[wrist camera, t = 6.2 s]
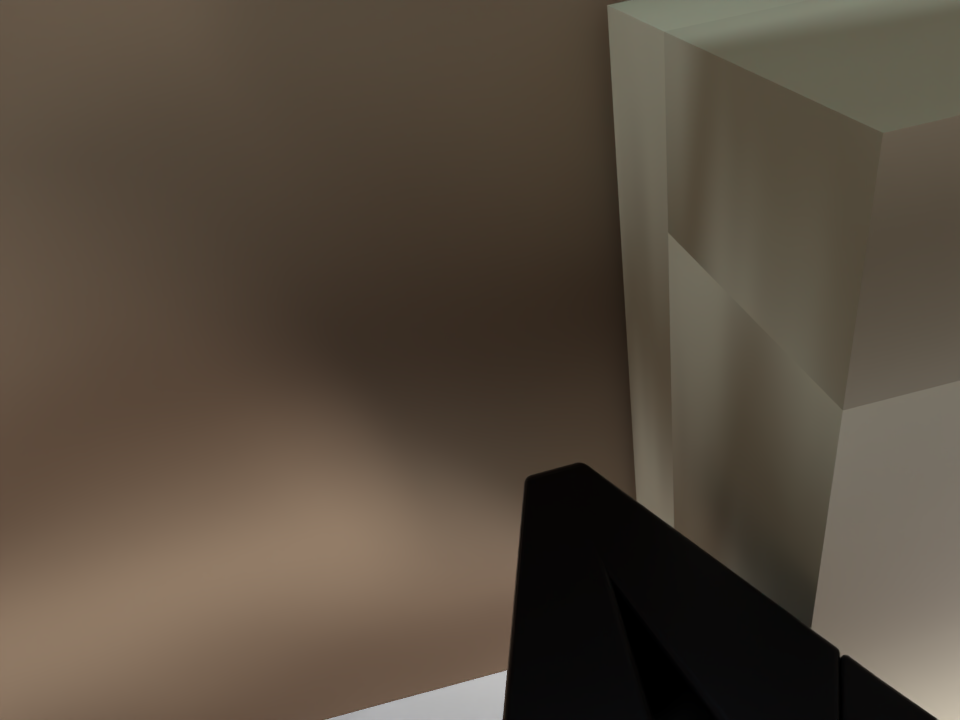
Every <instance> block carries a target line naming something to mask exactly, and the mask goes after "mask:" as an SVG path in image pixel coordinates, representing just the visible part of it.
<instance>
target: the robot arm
mask: <svg viewBox="0 0 960 720" xmlns="http://www.w3.org/2000/svg"><path fill="white" fill-rule="evenodd" d="M503 720H938V719H937V718H935V717H934V716H933V715H931V714H930V713H928V712H927V711H925V710H924V709H922V708H921V707H920V706H918V705H917V704H915V703H914V702H912V701H911V700H910V699H908V698H907V697H905V696H904V695H902V694H901V693H900V692H898V691H897V690H895V689H894V688H892V687H891V686H889V685H888V684H887V683H885V682H884V681H882V680H881V679H880V678H878V677H877V676H875V675H874V674H873V673H871V672H870V671H869V670H867V669H866V668H865V667H863V666H862V665H861V664H859V663H858V662H856V661H855V660H854V659H852V658H851V657H850V656H848V655H842V656H841V658H840V651H839V649H838V648H837V647H836V646H834V645H833V644H831V643H830V642H829V641H827V640H826V639H825V638H823V637H822V636H820V635H819V634H818V633H816V632H815V631H814V630H812V629H811V628H810V627H808V626H807V625H805V624H804V623H803V622H801V621H800V620H799V619H797V618H796V617H794V616H793V615H792V614H790V613H789V612H788V611H786V610H785V609H784V608H782V607H781V606H779V605H778V604H777V603H775V602H774V601H773V600H771V599H770V598H769V597H767V596H766V595H764V594H763V593H762V592H760V591H759V590H758V589H756V588H755V587H753V586H752V585H751V584H749V583H748V582H747V581H745V580H744V579H743V578H741V577H740V576H738V575H737V574H736V573H734V572H733V571H732V570H730V569H729V568H727V567H726V566H725V565H723V564H722V563H721V562H719V561H718V560H717V559H715V558H714V557H712V556H711V555H710V554H708V553H707V552H706V551H704V550H703V549H701V548H700V547H699V546H697V545H696V544H695V543H693V542H692V541H691V540H689V539H688V538H686V537H685V536H684V535H682V534H681V533H680V532H678V531H677V530H676V529H674V528H673V527H671V526H670V525H669V524H667V523H666V522H665V521H663V520H662V519H660V518H659V517H658V516H656V515H655V514H654V513H652V512H651V511H650V510H648V509H647V508H645V507H644V506H643V505H641V504H640V503H639V502H637V501H636V500H634V499H633V498H632V497H630V496H629V495H628V494H626V493H625V492H624V491H622V490H621V489H619V488H618V487H617V486H615V485H614V484H613V483H611V482H610V481H609V480H607V479H606V478H604V477H603V476H602V475H600V474H599V473H598V472H596V471H595V470H593V469H592V468H591V467H589V466H588V465H586V464H585V463H581V462H577V463H574V464H570V465H566V466H562V467H559V468H555V469H551V470H548V471H544V472H540V473H537V474H533V475H530V476H528V477H527V478H526V479H525V482H524V491H523V502H522V513H521V524H520V536H519V547H518V558H517V569H516V580H515V591H514V602H513V613H512V624H511V635H510V646H509V657H508V668H507V679H506V690H505V701H504V712H503Z"/></svg>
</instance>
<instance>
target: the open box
mask: <svg viewBox="0 0 960 720" xmlns="http://www.w3.org/2000/svg"><path fill="white" fill-rule="evenodd" d="M607 12H608V29H609V45H610V62H611V79H612V96H613V113H614V129H615V146H616V163H617V180H618V197H619V214H620V230H621V247H622V264H623V281H624V298H625V314H626V331H627V348H628V365H629V382H630V399H631V415H632V432H633V449H634V466H635V483H636V499H637V502H639V503H640V504H641V505H643V506H644V507H645V508H647V509H648V510H650V511H651V512H652V513H654V514H655V515H656V516H658V517H659V518H660V519H662V520H663V521H665V522H666V523H667V524H669V525H670V526H671V527H673V528H674V529H676V530H677V531H678V532H680V533H681V534H682V535H684V536H685V537H686V538H688V539H689V540H691V541H692V542H693V543H695V544H696V545H697V546H699V547H700V548H701V549H703V550H704V551H706V552H707V553H708V554H710V555H711V556H712V557H714V558H715V559H717V560H718V561H719V562H721V563H722V564H723V565H725V566H726V567H727V568H729V569H730V570H732V571H733V572H734V573H736V574H737V575H738V576H740V577H741V578H743V579H744V580H745V581H747V582H748V583H749V584H751V585H752V586H753V587H755V588H756V589H758V590H759V591H760V592H762V593H763V594H764V595H766V596H767V597H769V598H770V599H771V600H773V601H774V602H775V603H777V604H778V605H779V606H781V607H782V608H784V609H785V610H786V611H788V612H789V613H790V614H792V615H793V616H794V617H796V618H797V619H799V620H800V621H801V622H803V623H804V624H805V625H807V626H808V627H810V628H811V629H812V630H814V631H815V632H816V633H818V634H819V635H820V636H822V637H823V638H825V639H826V640H827V641H829V642H830V643H831V644H833V645H834V646H836V647H837V648H838V649H839V651H840V658H841V656H842V655H848V656H850V657H851V658H852V659H854V660H855V661H856V662H858V663H859V664H861V665H862V666H863V667H865V668H866V669H867V670H869V671H870V672H871V673H873V674H874V675H875V676H877V677H878V678H880V679H881V680H882V681H884V682H885V683H887V684H888V685H889V686H891V687H892V688H894V689H895V690H897V691H898V692H900V693H901V694H902V695H904V696H905V697H907V698H908V699H910V700H911V701H912V702H914V703H915V704H917V705H918V706H920V707H921V708H922V709H924V710H925V711H927V712H928V713H930V714H931V715H933V716H934V717H935V718H937V719H938V720H960V0H629V1H624V2H619V3H615V4H610V5H607Z"/></svg>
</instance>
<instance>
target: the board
mask: <svg viewBox="0 0 960 720" xmlns="http://www.w3.org/2000/svg"><path fill="white" fill-rule="evenodd" d="M624 1H629V0H0V720H325V719H329V718H332V717H336V716H340V715H344V714H347V713H351V712H355V711H358V710H362V709H366V708H369V707H373V706H377V705H380V704H384V703H388V702H391V701H395V700H399V699H402V698H406V697H410V696H414V695H417V694H421V693H425V692H428V691H432V690H436V689H439V688H443V687H447V686H450V685H454V684H458V683H461V682H465V681H469V680H472V679H476V678H480V677H484V676H487V675H491V674H495V673H498V672H502V671H506V670H507V668H508V657H509V646H510V635H511V624H512V613H513V602H514V591H515V580H516V569H517V558H518V547H519V536H520V524H521V513H522V502H523V491H524V482H525V479H526V478H527V477H528V476H530V475H533V474H537V473H540V472H544V471H548V470H551V469H555V468H559V467H562V466H566V465H570V464H574V463H577V462H581V463H585V464H586V465H588V466H589V467H591V468H592V469H593V470H595V471H596V472H598V473H599V474H600V475H602V476H603V477H604V478H606V479H607V480H609V481H610V482H611V483H613V484H614V485H615V486H617V487H618V488H619V489H621V490H622V491H624V492H625V493H626V494H628V495H629V496H630V497H632V498H633V499H634V500H636V501H637V499H636V483H635V466H634V449H633V432H632V415H631V399H630V382H629V365H628V348H627V331H626V314H625V298H624V281H623V264H622V247H621V230H620V214H619V197H618V180H617V163H616V146H615V129H614V113H613V96H612V79H611V62H610V45H609V29H608V12H607V5H610V4H615V3H619V2H624Z"/></svg>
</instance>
